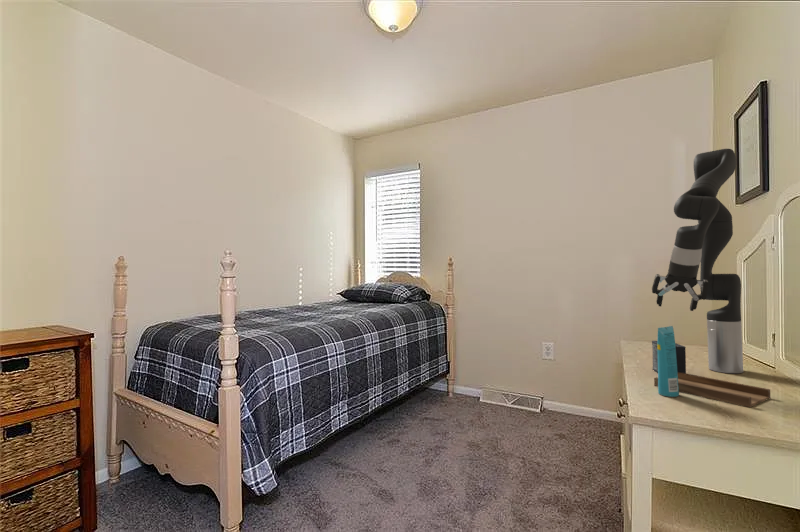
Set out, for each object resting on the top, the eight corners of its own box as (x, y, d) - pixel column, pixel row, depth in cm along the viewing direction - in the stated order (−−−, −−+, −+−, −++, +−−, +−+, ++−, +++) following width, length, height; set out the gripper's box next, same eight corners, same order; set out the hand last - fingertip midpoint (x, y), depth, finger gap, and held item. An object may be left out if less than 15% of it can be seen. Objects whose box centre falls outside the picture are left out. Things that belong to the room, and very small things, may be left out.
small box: (688, 378, 127) (687, 346, 127) (665, 378, 129) (664, 345, 129) (672, 370, 138) (671, 340, 138) (651, 370, 139) (650, 340, 139)
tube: (664, 390, 116) (662, 324, 116) (683, 394, 112) (681, 326, 112) (652, 395, 112) (650, 327, 112) (672, 399, 108) (669, 329, 108)
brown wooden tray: (676, 379, 127) (676, 371, 127) (770, 398, 107) (770, 389, 107) (654, 385, 121) (654, 377, 121) (749, 407, 101) (749, 397, 101)
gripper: (711, 259, 122) (700, 306, 128) (657, 254, 129) (648, 299, 134) (715, 267, 116) (704, 316, 122) (658, 261, 123) (649, 308, 128)
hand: (675, 307), depth 128 cm, fingers open, 8 cm apart
